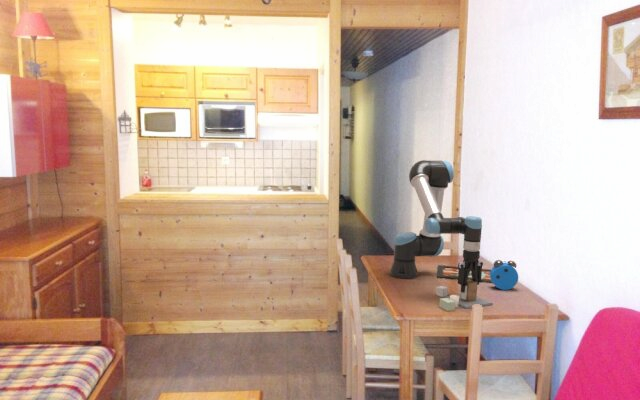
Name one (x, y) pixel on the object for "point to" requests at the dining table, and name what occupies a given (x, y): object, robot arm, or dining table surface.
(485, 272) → the painting
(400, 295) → the dining table surface
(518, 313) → the dining table surface
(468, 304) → the grey mat
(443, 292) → the white cube
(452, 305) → the sage block
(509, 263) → the alarm clock
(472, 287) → the walnut block
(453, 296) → the cream cylinder
